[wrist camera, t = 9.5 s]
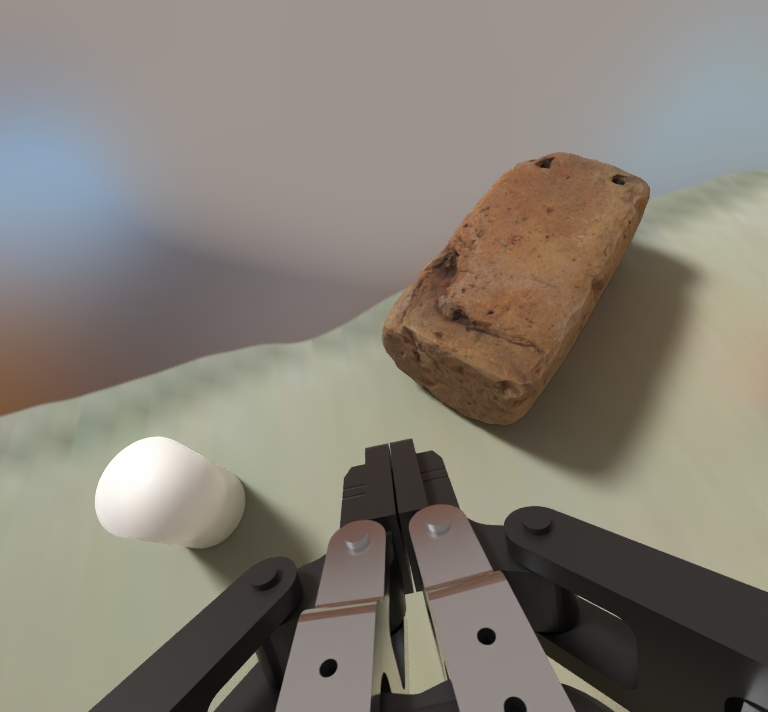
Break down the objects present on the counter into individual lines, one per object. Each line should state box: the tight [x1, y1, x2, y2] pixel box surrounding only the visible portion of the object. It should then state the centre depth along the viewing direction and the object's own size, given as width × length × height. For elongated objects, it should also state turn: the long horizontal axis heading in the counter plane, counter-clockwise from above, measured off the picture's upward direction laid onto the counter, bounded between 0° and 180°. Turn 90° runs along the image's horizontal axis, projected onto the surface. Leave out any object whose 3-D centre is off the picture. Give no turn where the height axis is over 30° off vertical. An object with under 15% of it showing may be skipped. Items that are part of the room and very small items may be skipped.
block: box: [382, 152, 650, 425], centre depth 29 cm, size 11×8×20 cm
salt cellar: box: [95, 437, 246, 549], centre depth 24 cm, size 5×5×7 cm
